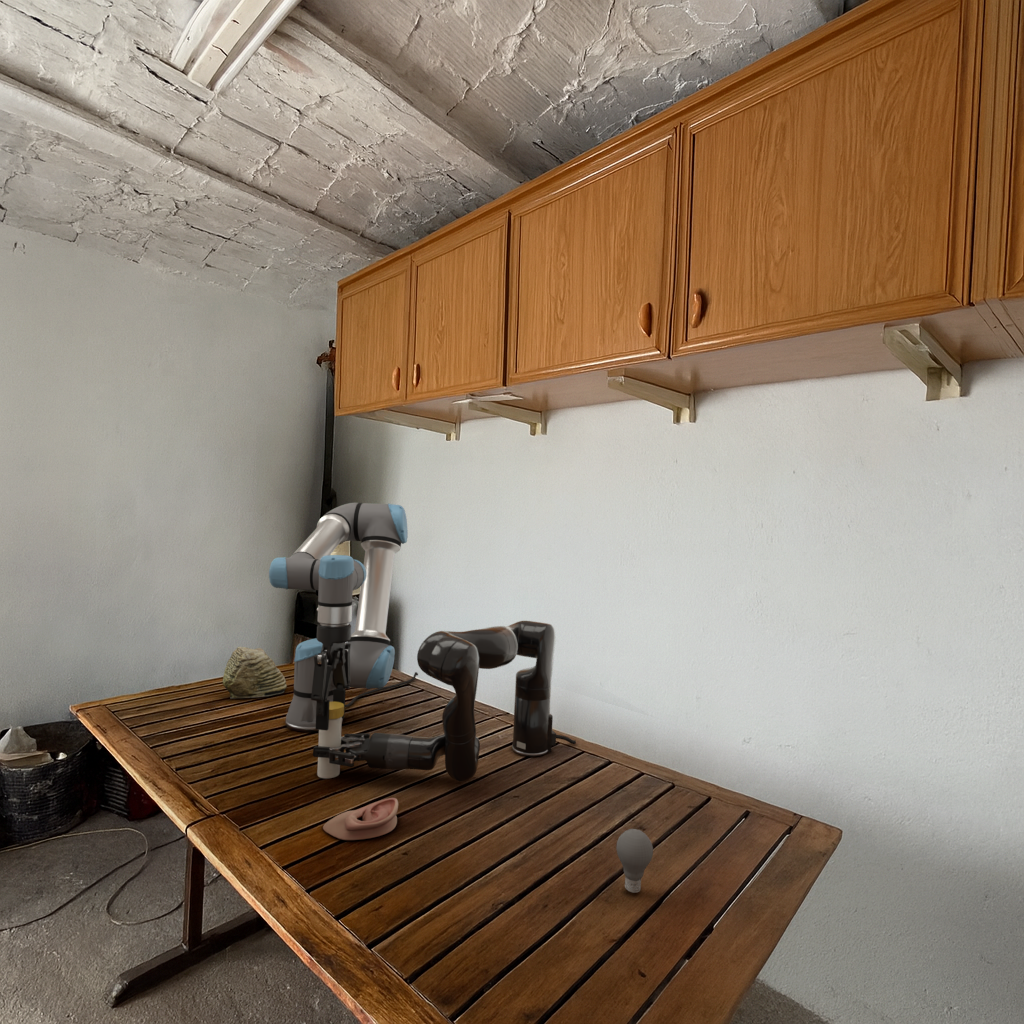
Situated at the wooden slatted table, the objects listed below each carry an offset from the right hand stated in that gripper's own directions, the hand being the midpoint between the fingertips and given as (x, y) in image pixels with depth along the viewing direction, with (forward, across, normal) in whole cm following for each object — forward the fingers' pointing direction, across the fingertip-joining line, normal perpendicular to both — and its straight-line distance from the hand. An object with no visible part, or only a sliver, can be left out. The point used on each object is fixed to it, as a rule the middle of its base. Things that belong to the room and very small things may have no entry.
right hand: (318, 746), depth 145 cm
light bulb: (-67, +36, +6) cm, 76 cm away
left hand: (-3, 0, -6) cm, 6 cm away
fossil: (+39, -51, +6) cm, 64 cm away
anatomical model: (-17, +22, +6) cm, 28 cm away
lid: (-3, 0, -9) cm, 10 cm away
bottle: (-3, 0, +6) cm, 7 cm away
